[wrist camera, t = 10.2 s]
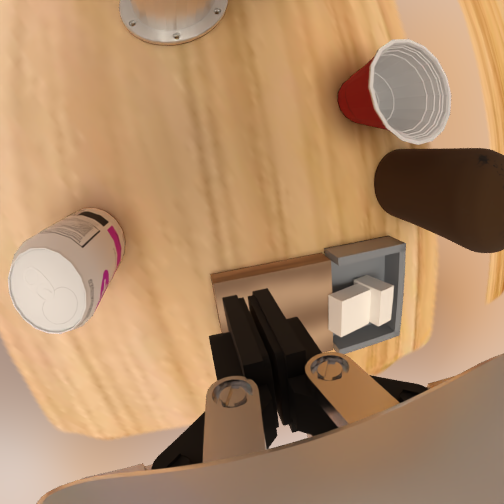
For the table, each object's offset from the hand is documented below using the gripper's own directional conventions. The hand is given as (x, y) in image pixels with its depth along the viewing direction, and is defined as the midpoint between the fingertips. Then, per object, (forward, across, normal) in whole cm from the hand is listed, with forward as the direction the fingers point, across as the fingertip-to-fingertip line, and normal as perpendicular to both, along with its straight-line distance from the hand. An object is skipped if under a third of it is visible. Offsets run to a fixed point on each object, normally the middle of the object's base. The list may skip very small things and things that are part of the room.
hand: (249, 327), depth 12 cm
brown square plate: (+25, -6, +15) cm, 30 cm away
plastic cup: (+27, -21, -10) cm, 35 cm away
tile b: (+22, -18, +15) cm, 32 cm away
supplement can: (+26, +13, +2) cm, 29 cm away
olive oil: (+26, -27, +1) cm, 37 cm away
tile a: (+23, -15, +15) cm, 31 cm away
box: (+25, -19, +15) cm, 35 cm away
